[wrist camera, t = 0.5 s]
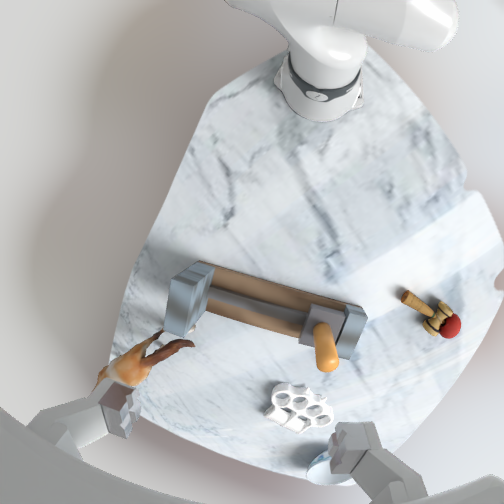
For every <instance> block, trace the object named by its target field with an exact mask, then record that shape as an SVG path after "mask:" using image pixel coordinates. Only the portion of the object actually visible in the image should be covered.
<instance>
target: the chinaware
mask: <svg viewBox="0 0 504 504" xmlns="http://www.w3.org/2000/svg"><path fill="white" fill-rule="evenodd" d="M331 459H332V457H331V456H330V455H329V454H328V450H326V451H324V452H322V453H321V454H320V455H319V456H317V457H316V458H315V459H314V460H313V461H312V462H311V464H310V465H309V467H308V470H307V473H306V477H307V479H308V480H309V481H310V482H312V483H314V484H318V485H334V484H339V483H342V482H345V481H347V480H349V479H351V478H352V477H351V475H350V474H331V471H330V463H329V462H330V460H331Z"/></svg>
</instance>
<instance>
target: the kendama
mask: <svg viewBox="0 0 504 504" xmlns="http://www.w3.org/2000/svg"><path fill="white" fill-rule="evenodd" d="M401 302H402V303H404V304H406V305H408V306H410V307H411V308H413V309H415V310H417V311H419V312H420V313H422V314H424V315H427V316H429V317H432V318H430V319H427V320H425V321H424V322H423V324H422V325H423V327H424V328H425V330H426V331H427V332H428V333H430V334H431V335H432V336H437V335H438V333H440V335H441V336H442V337H444V338H448V339H449V338H453V337H455V336H456V335H457V334H458V333H459V331H460V328H461V321H460V318H459V317H458V316H457V315H456V314H454V313H453V311H452V310H451V309H450V308H449V307H448V306H447V305H446V304H445V303H443V302H442V301H440V302H439V303H438V310H437V312H436V313H435V312H434V311H433V310H432V309H431V308H430V307H429V306H428V305H426V304H425V303H424V302H423V301H421V300H420V299H419V298H417V297H416V296H415V295H413V294H412V293H411V292H410V291H409V290H407V291H406V292H405V293H404V294H403V296H402V298H401Z"/></svg>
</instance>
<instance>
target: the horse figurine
mask: <svg viewBox="0 0 504 504" xmlns="http://www.w3.org/2000/svg"><path fill="white" fill-rule="evenodd" d="M163 328H164V327H163ZM163 328H162V330H160V331H159V332H157V333H155V334H154V335H153V336H152V337H151V338H148V339H146V340H144V341H143V342H142V343H140V344H137V345H135V346H134V347H133V348H132V349H130V351H128V352H127V353H125V354H124V355H122V356H121V355H120V356H119V357H117V358H115V359H114V360H112V361H111V362H110V364H109V365H108V366H105V367H104V368H103V370H101V371H100V372H99V375H98V382H97V384H96V386H95V388H96V387H97V386H98V385H99V383H100V382H101V381H102V380H103V379H104V378H106V377H107V378H110V379H113V380H115V381H118V382H121V383H123V384H126V385H129V386H137V385H138V384H140V383H141V382H142V381H144V380H145V379H146V378H147V377H148V375H149V372H150V370H151V368H152V366H154V365H156V364H157V363H158V362H160V361H163V360H165V359H166V358H168V357H169V356H171V355H173V354H174V353H176V352H178V350H179V349H180V348H182V347H195V345H194V343H193V342H192V341H190V340H183V339H176V340H173V341H170V342H169V343H168V344H166V345H165V346H164V345H162V346H161V347H160V348H159V349H158V350H155V351H154V353H153V354H150V355H148V356H147V357H145V355H146V349H147V348H148V347H149V345H150V344H151V343H152V342H153V341H154V340H157V339H158V338H159V336H160V335H161V334H162V333H163V332H165V331H164V330H163ZM95 388H94V389H95ZM93 391H94V390H93ZM93 391H92V392H93Z"/></svg>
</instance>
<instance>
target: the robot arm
mask: <svg viewBox="0 0 504 504" xmlns="http://www.w3.org/2000/svg"><path fill="white" fill-rule="evenodd" d="M224 1H225V2H226V3H227V4H228V5H230V6H231V7H233V8H236V9H239V10H243V11H245V12H248V13H250V14H252V15H254V16H256V17H258V18H260V19H262V20H263V21H265V22H267V23H268V24H269V25H271V26H272V27H274V28H275V29H276V30H277V31H278V32H279V33H280V34H281V35H283V37H284V38H286V40H287V41H288V43H289V46H288V49H287V51H288V52H289V53H288V55H287V56H285V57H284V59H283V63H282V65H281V67H280V69H279V70H278V72H277V74H276V76H275V77H274V84H275V85H276V86H277V87H278V88H279V89H280V90H281V91H282V92H283V94H284V96H285V99H286V101H287V103H288V104H289V106H290V107H291V108H292V109H293V110H294V111H295V112H296V113H297V114H299V115H300V116H302V117H304V118H306V119H309V120H312V121H317V122H328V121H333V120H336V119H338V118H340V117H342V116H343V115H344V114H345V113H347V112H348V111H350V110H353V109H357V108H360V107H362V105H363V102H364V99H363V76H362V63H363V61H364V59H365V57H366V55H367V50H368V45H367V40H366V38H365V35H367V36H370V37H373V38H376V39H379V40H383V41H385V42H388V43H391V44H395V45H400V46H404V47H409V48H413V49H418V50H423V51H427V52H434V51H437V50H439V49H441V48H443V47H444V46H446V45H447V44H448V43H449V42H450V41H451V40H452V39H453V37H454V36H455V34H456V31H457V28H458V24H459V12H458V7H457V3H456V1H455V0H224ZM336 2H337V3H336ZM280 76H281V77H280ZM358 96H359V98H358ZM139 395H140V394H139V389H137V388H134V387H132V386H129V385H126V384H123V383H121V382H118V381H115V380H113V379H110V378H107V377H106V378H104V379H103V380H102V381H101V382H100V383H99V385H98V386H97V387H96V388H95V389H94V391H93V392H92V393H91V394H90V395H89V397H88V398H87V399H86V398H81V399H78V400H75V401H71V402H68V403H65V404H61V405H58V406H55V407H51V408H48V409H44V410H41V411H40V412H39V413H38V414H37V416H35V417H34V418H33V420H32V421H31V422H30V423H29V424H28V425H27V426H24V425H23V424H22V423H20V422H19V421H17V420H16V419H15V418H14V417H12V416H11V415H10V414H8V413H7V412H6V411H5V410H3V409H2V408H1V407H0V504H203V503H199V502H195V501H190V500H186V499H182V498H178V497H175V496H171V495H168V494H164V493H161V492H158V491H154V490H151V489H148V488H145V487H143V486H139V485H137V484H134V483H132V482H129V481H126V480H124V479H121V478H119V477H116V476H114V475H112V474H109V473H107V472H105V471H103V470H100V469H98V468H96V467H94V466H92V465H90V464H88V463H86V462H84V461H83V459H82V457H81V455H80V453H79V451H78V449H80V448H82V447H84V446H86V445H88V444H90V443H92V442H94V441H95V440H97V439H99V438H101V437H103V436H105V435H107V434H108V433H111V434H114V435H117V436H120V437H122V438H125V439H127V438H128V436H129V434H130V432H131V430H132V429H133V428H132V423H135V422H137V420H138V418H139V416H140V412H141V402H140V401H139V400H138V397H139ZM335 431H336V432H335V433H333V434H332V435H331V437H330V439H329V442H328V454H329V455H330V456H331V457H332V459H331V460H330V462H329V463H330V471H331V474H350V475H351V477H352V478H353V479H354V480H355V481H356V482H357V484H358V485H359V486H360V487H361V488H362V489H363V490H364V491H365V493H366V494H367V495H368V496H369V497H370V498H371V499H372V501H371V502H370V503H369V504H504V480H502V479H501V478H499V477H497V476H495V475H491V474H490V475H486V476H483V477H481V478H479V479H476V480H474V481H471V482H469V483H467V484H464V485H461V486H459V487H456V488H453V489H450V490H448V491H444V492H441V493H438V494H435V495H432V496H428V494H427V491H426V488H425V485H424V483H423V480H422V477H421V475H419V474H418V473H417V472H415V471H414V470H413V469H411V468H410V467H409V466H407V465H406V464H405V463H403V462H402V461H401V460H399V459H398V458H397V457H396V456H394V455H393V454H392V453H391V452H389V451H388V450H387V449H383V448H382V445H381V442H380V439H379V436H378V433H377V430H376V427H375V424H374V423H373V422H339V423H338V424H337V425H336V427H335Z"/></svg>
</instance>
